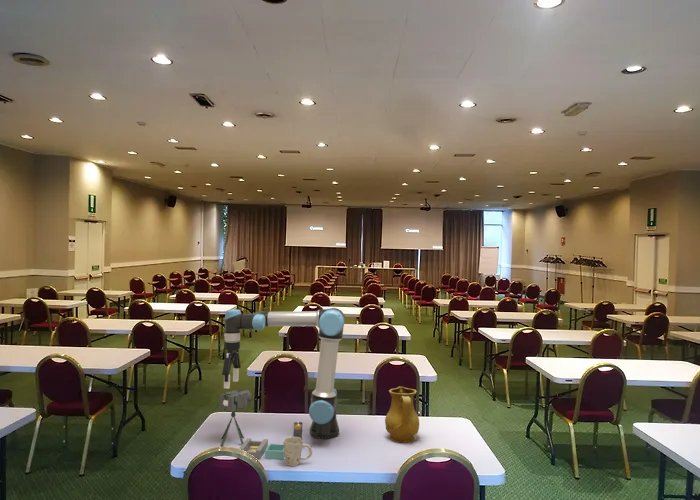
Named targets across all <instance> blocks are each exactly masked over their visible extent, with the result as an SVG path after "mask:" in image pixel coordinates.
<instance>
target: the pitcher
mask: <svg viewBox="0 0 700 500" xmlns="http://www.w3.org/2000/svg"><path fill="white" fill-rule="evenodd" d="M388 392H389V394H390V396H391V401H390V402H391V403H390V407H389V410H388V412H387V414H386V415H385V419H384V423H385V424H384V425H385V429H386V432H387V433H388V434H389V435H390V437H389V439H390V440H391V441H393V442H395V443H400V444H401V443H412V442H414V441H415V440H416V438H415V435H417V434H418V432H419V430H420V429H419V428H420V418H419V415H418V414H417V412H416V410H415V406H414V396H415V395H416V394H417V390H416V389H413V388H408V387H404V386H400V385H399V386H398V387H396V388H391V389H389V390H388Z"/></svg>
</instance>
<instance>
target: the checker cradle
mask: <svg viewBox="0 0 700 500" xmlns="http://www.w3.org/2000/svg"><path fill="white" fill-rule="evenodd" d="M268 445H269V439H268V438H263V439H262V440H252V438H250V437H247V438H246V439H245V441H243V444H242V445H241V444H240V447H239V448H238V449H241V450H244V451H246V452H247V453H249V454H251V455H253V456H254V457H255V458H257V459H256V460H261V459H262V458H263V455H265V450H266V449H267V447H268Z"/></svg>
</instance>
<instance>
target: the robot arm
mask: <svg viewBox="0 0 700 500" xmlns="http://www.w3.org/2000/svg"><path fill="white" fill-rule="evenodd" d="M224 315H225V316H224V334H223V336H224V343H223V344H224V347H223V348H224V350H226V351H227V353H224V361H223V367H222V374H221V375H222V376H223V389H230V388H231V373H230V372H231V368H232V365H233V368H232V382H234V383H235V382H236V383H237V382H239V378H240V376H239V375H240V372H239V371H240V369H241V361H240V360H241V359H240V352H239V351H240V349H241V342H240V341H241V330H255V331H259V330H260V331H261V330H264V329H265V327H317V328H319V330H318V338H319V339H320V348H319V357H318V366H317V372H316V373H317V375H316V383H315V389H314V390H312V393H311V400H310V406H309V408H308V413H309V414H308V415H309V417H310V419H311V424H310V428H309V435H310V436H311V437H313V438H317V439H322V440H323V439H327V440H328V439H334V438H336V437H338V436H339V435H340V427H339V424H338V419H337V407H338V406H337V402H338V401H337V400H338V399H337V398H338V393H337V389H336V388H334V387H335V377H336V369H337V362H338V361H337V360H338V352H339V343H340V342H341V341H342V339H343V334H344V327H345V325H346V324H345V323H346V316H345V314H344V312H343V311H342V310H341V309H339V308H337V307H332V308H325V309H324V308H321V309H318V310H315V311H313V310H312V311H311V310H310V311H307V310H305V311H263V310H261V311H260V310H259V311H255V312H254V313H242V312H241V310H240V309H227V310H225V313H224Z"/></svg>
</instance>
